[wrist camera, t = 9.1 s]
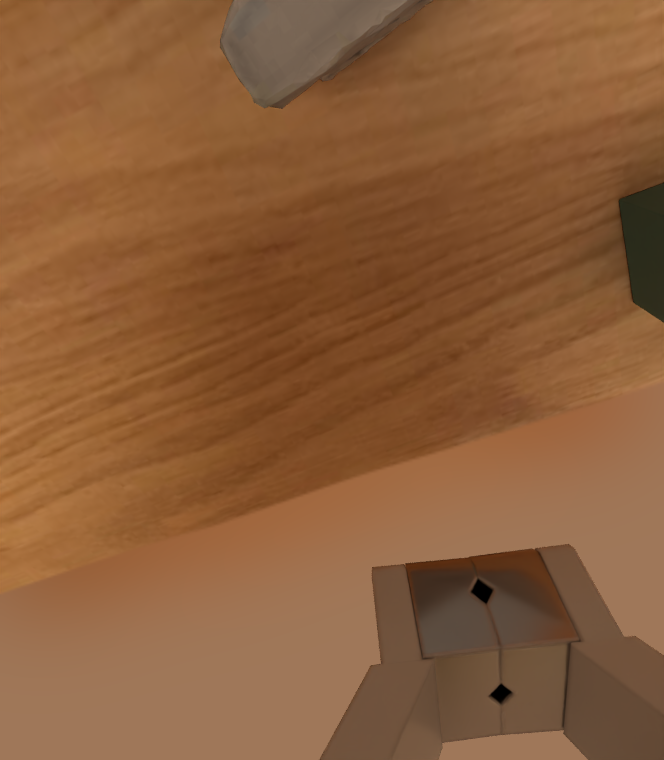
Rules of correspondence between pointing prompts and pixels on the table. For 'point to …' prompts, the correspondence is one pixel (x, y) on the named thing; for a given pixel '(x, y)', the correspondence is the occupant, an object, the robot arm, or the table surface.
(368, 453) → the table surface
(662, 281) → the block
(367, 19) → the incense holder
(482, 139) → the table surface
